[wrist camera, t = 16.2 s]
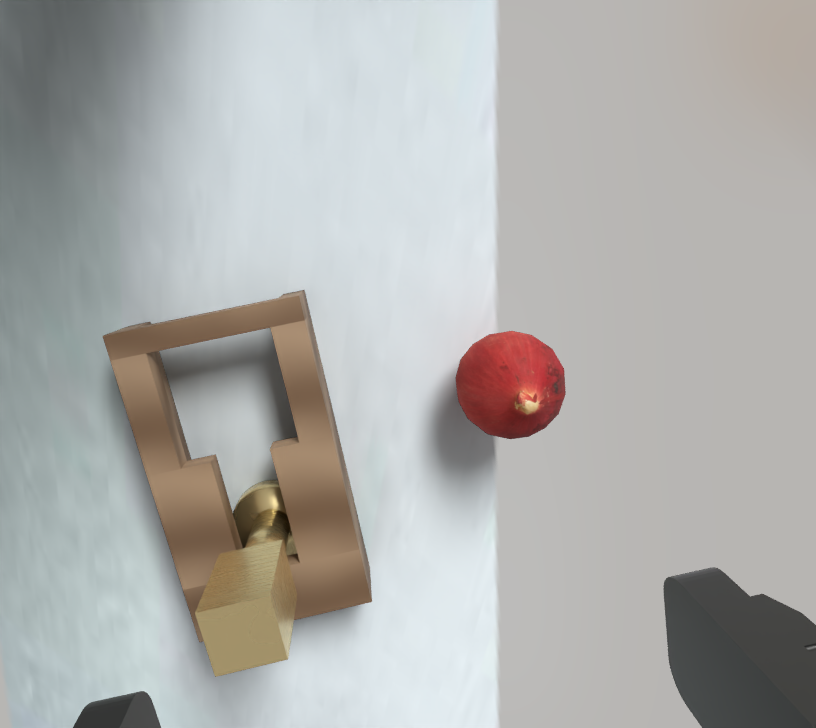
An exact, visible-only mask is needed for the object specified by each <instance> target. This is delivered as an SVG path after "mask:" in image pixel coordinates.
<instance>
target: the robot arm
mask: <svg viewBox="0 0 816 728" xmlns="http://www.w3.org/2000/svg"><path fill="white" fill-rule="evenodd" d="M664 602H665V615H666V628H667V642H668V656H669V663H670V668H671V672H672V675H673V678H674V681H675V684H676V686H677V688H678V691H679V693H680V695H681V697H682V698H683V700H684V702H685V704H686V705H687V707H688V708H689V710H690V711H691V712H692V713H693V715H694V717H695V718H696V719H697V721H698V722H699V724H700V725H701V726H702V728H816V625H815V624H814V623H812V622H811V621H810V620H809V619H808V618H807V617H806V616H804V615H803V614H802V613H800V612H798V611H796V610H794V609H792V608H790V607H788V606H786V605H784V604H782V603H780V602H778V601H776V600H774V599H772V598H770V597H768V596H766V595H764V594H760V595H755V596H751V597H750V596H749V595H748V594H747V593H745V592H744V591H743V590H742V589H741V588H740V587H739V586H738V585H737V584H736V583H735V582H733V581H732V580H731V579H730V578H729V577H728V576H727V575H726V574H725V573H724V572H722V571H721V570H720V569H718V568H708V569H703V570H699V571H694V572H690V573H685V574H681V575H676V576H672V577H668V578H666V580H665V582H664ZM73 728H161V726H160V723H159V720H158V717H157V714H156V711H155V708H154V705H153V703H152V700H151V698H150V696H149V695H148V694H147V693H146V692H144V691H141V692H136V693H131V694H127V695H122V696H118V697H113V698H109V699H104V700H100V701H95V702H91V703H89V704H88V705H87V706H86V707H85V708H84V709H83V711H82V712H81V714H80V716H79V718H78V719H77V721H76V723H75V725H74V727H73Z"/></svg>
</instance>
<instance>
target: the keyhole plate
mask: <svg viewBox="0 0 816 728" xmlns="http://www.w3.org/2000/svg"><path fill="white" fill-rule="evenodd" d="M265 328H271V332H272V336H273V340H274V344H275V348H276V352H277V356H278V360H279V364H280V368H281V372H282V376H283V380H284V384H285V388H286V392H287V396H288V400H289V404H290V408H291V412H292V416H293V419H294V423H295V427H296V431H297V435H298V437H294V438H289V439H284V440H280V441H275V442H273V443H272V446H271V448H270V451H271V455H272V459H273V463H274V466H275V470H276V474H277V478H278V482H279V485H280V489H281V493H282V497H283V501H284V504H285V508H286V512H287V516H288V519H289V523H290V527H291V531H292V535H293V538H294V542H295V546H296V550H297V553H296V554H291V555H287V558H288V562H289V565H290V569H291V573H292V576H293V580H294V584H295V587H296V591H297V601H296V608H295V615H294V620H296V619H301V618H305V617H309V616H313V615H318V614H322V613H326V612H330V611H335V610H339V609H343V608H348V607H352V606H356V605H360V604H365V603H369V602H372V596H371V579H370V566H369V562H368V558H367V554H366V549H365V545H364V541H363V537H362V533H361V528H360V524H359V520H358V516H357V511H356V507H355V503H354V499H353V494H352V490H351V486H350V482H349V477H348V473H347V469H346V465H345V460H344V456H343V452H342V448H341V443H340V439H339V435H338V431H337V426H336V422H335V418H334V414H333V409H332V405H331V401H330V397H329V392H328V388H327V384H326V380H325V375H324V371H323V367H322V363H321V359H320V354H319V350H318V346H317V342H316V337H315V333H314V329H313V325H312V320H311V316H310V312H309V308H308V303H307V299H306V295H305V291H304V290H302V291H297V292H292V293H287V294H283V295H282V296H281V297H279V298H277V299H272V300H267V301H262V302H257V303H253V304H248V305H243V306H238V307H233V308H228V309H223V310H219V311H214V312H209V313H204V314H199V315H194V316H189V317H185V318H180V319H175V320H170V321H165V322H160V323H156V324H151V322H146V323H142V324H137V325H132V326H128V327H125V328H123V329H120V330H117V331H115V332H112V333H109V334H107V335H104V336H103V339H104V342H105V345H106V349H107V352H108V355H109V358H110V361H111V364H112V367H113V371H114V374H115V377H116V380H117V383H118V386H119V390H120V393H121V396H122V399H123V402H124V405H125V409H126V412H127V415H128V418H129V421H130V424H131V427H132V431H133V434H134V437H135V440H136V443H137V446H138V450H139V453H140V456H141V459H142V462H143V465H144V469H145V472H146V475H147V478H148V481H149V484H150V487H151V491H152V494H153V497H154V500H155V503H156V506H157V510H158V513H159V516H160V519H161V522H162V525H163V529H164V532H165V535H166V538H167V541H168V544H169V547H170V551H171V554H172V557H173V560H174V563H175V566H176V570H177V573H178V576H179V579H180V582H181V585H182V589H183V592H184V595H185V598H186V601H187V604H188V608H189V611H190V614H191V617H192V620H193V623H194V626H195V630H196V633H197V636H198V639H199V642H203V641H204V640H203V637H202V634H201V631H200V628H199V624H198V621H197V618H196V615H195V612H196V609H197V607H198V605H199V602H200V600H201V597H202V595H203V593H204V590H205V588H206V585H207V583H208V580H209V578H210V576H211V573H212V571H213V568H214V566H215V563H216V561H217V559H218V556H219V554H221V553H226V552H230V551H234V550H239V549H243V548H242V544H241V541H240V537H239V534H238V531H237V527H236V524H235V520H234V517H233V513H232V510H231V506H230V503H229V499H228V496H227V492H226V489H225V485H224V482H223V478H222V475H221V471H220V468H219V464H218V461H217V457H216V455H211V456H207V457H202V458H198V459H193V460H191V457H190V454H189V450H188V447H187V444H186V440H185V437H184V434H183V430H182V427H181V424H180V420H179V417H178V413H177V410H176V407H175V403H174V400H173V397H172V393H171V390H170V386H169V383H168V380H167V376H166V373H165V370H164V366H163V363H162V360H161V356H160V353H159V351H160V350H165V349H170V348H174V347H179V346H184V345H189V344H193V343H198V342H203V341H208V340H213V339H217V338H222V337H227V336H232V335H237V334H241V333H246V332H251V331H256V330H261V329H265Z"/></svg>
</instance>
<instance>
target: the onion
mask: <svg viewBox="0 0 816 728" xmlns="http://www.w3.org/2000/svg"><path fill="white" fill-rule="evenodd" d="M456 387H457V395H458V401H459V403H460V405H461V407H462V409H463V411H464V413H465V414H466V416H467V418H468V419H469V420H470V421H471V422H472V423H474V424H475V425H476V426H478V427H479V428H480V429H481V430H483V431H484V432H485V433H487V434H489V435H494V436H498V437H503V438H507V439H515V438H522V437H529V436H531V435H532V434H535V433H536V432H538V431H540V430H542V429H544V428H545V427H547V425H548V424H549V423H550V422H551V421H552V420H553V419H554V418H555V417H556V416H557V415H558V414H559V411H560V408H561V405H562V402H563V400H564V397H565V378H564V368H563V366H562V365H561V363H560V361H559V360H558V358H557V356H556V355H555V353H554V351H553V350H552V349H551V348H550V347H549V346H547V345H546V344H544V343H543V342H541V341H540V340H538V339H537V338H535V337H533V336H532V335H529V334H524V333H520V332H515V331H509V332H503V333H496V334H489V335H488V336H486V337H484V338H483V339H481V340H479V341H478V342H476V343H474V344H473V345H472V346H471V347H470V348H469V350H468V351H467V352H466V353H465V355H464V356H463V357H462V359H461V360H460V364H459V367H458V371H457V375H456Z"/></svg>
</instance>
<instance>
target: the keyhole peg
mask: <svg viewBox="0 0 816 728" xmlns="http://www.w3.org/2000/svg"><path fill="white" fill-rule="evenodd" d="M233 517H234V520H235V524H236V527H237V531H238V534H239V537H240V541H241V544H242V548H243V549H239V550H234V551H230V552H226V553H221V554H219V556H218V559H217V561H216V563H215V566H214V568H213V571H212V573H211V576H210V578H209V580H208V583H207V585H206V588H205V590H204V593H203V595H202V597H201V600H200V602H199V605H198V607H197V609H196V612H195V615H196V618H197V621H198V624H199V628H200V631H201V634H202V637H203V640H204V643H205V646H206V649H207V653H208V656H209V659H210V662H211V665H212V668H213V671H214V675H215V677H216V676H221V675H225V674H229V673H233V672H237V671H241V670H245V669H250V668H254V667H258V666H262V665H266V664H270V663H275V662H279V661H283V660H287V659H288V656H289V649H290V642H291V635H292V628H293V622H294V615H295V608H296V601H297V591H296V587H295V584H294V580H293V576H292V573H291V569H290V565H289V562H288V558H287V555H291V554H296V553H297V550H296V546H295V542H294V538H293V535H292V531H291V527H290V523H289V519H288V516H287V512H286V508H285V504H284V501H283V497H282V493H281V489H280V485H279V482H278V480H269V481H264V482H260V483H258V484H255V485H254V486H252V487H250V488H249V489H248V490H246V491H245V493H244V494H243V495H242V496H241V497H240V499H239V501H238V503H237V505H236V507H235V510H234V512H233Z"/></svg>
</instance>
